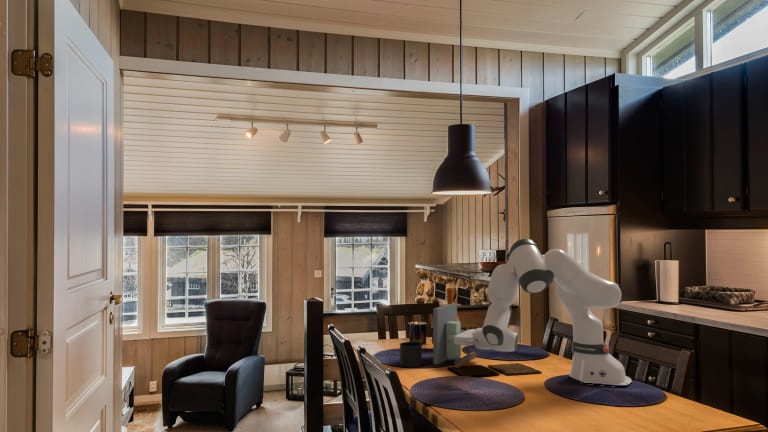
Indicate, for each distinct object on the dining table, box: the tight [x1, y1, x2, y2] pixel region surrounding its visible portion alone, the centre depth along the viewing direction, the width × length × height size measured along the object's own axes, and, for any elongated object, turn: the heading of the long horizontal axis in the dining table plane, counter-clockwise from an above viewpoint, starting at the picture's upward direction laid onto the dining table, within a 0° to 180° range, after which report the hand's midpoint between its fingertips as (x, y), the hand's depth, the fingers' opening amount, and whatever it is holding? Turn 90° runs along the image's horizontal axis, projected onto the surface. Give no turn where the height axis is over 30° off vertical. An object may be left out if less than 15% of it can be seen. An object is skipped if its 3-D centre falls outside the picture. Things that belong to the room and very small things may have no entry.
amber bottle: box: [446, 287, 460, 322], centre depth 262 cm, size 10×10×30 cm
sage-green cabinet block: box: [446, 321, 462, 359], centre depth 237 cm, size 5×5×15 cm
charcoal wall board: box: [432, 302, 477, 368], centre depth 237 cm, size 12×22×24 cm, turn 150°
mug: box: [399, 341, 423, 368], centre depth 230 cm, size 9×12×9 cm
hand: (451, 335), depth 237 cm, fingers closed on sage-green cabinet block, 5 cm apart
